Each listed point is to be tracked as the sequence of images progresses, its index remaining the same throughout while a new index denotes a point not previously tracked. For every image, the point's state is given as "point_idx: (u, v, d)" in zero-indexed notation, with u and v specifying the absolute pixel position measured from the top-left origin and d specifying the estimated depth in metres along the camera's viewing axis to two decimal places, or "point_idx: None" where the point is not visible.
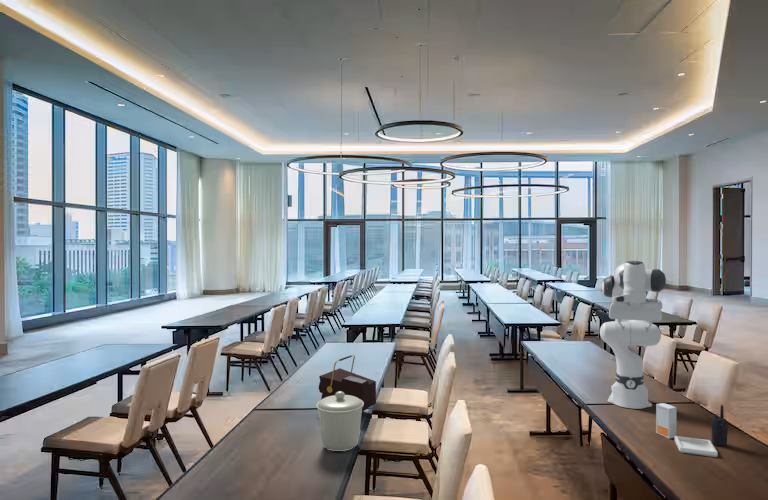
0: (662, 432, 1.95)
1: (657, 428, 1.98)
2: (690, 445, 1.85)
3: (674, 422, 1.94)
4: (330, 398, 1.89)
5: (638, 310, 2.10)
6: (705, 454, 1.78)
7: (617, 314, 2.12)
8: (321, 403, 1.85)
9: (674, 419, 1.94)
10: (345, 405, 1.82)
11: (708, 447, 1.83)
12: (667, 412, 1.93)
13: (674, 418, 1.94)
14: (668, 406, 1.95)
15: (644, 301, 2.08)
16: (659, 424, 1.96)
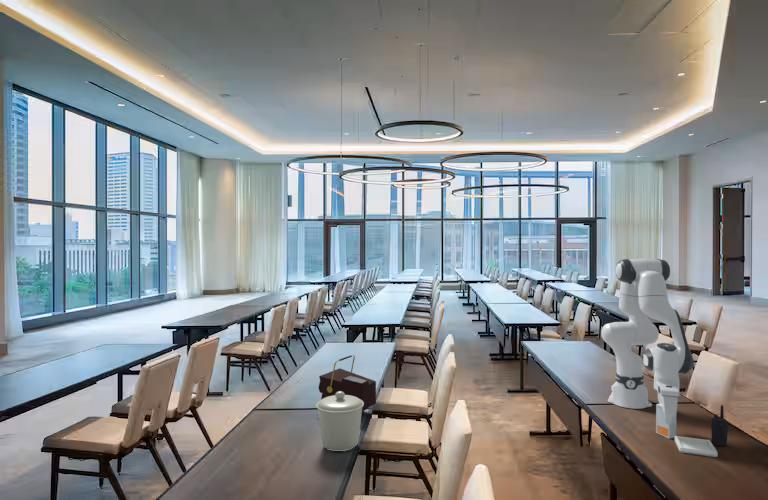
0: (662, 432, 1.95)
1: (657, 428, 1.98)
2: (690, 445, 1.85)
3: (674, 422, 1.94)
4: (330, 398, 1.89)
5: None
6: (705, 454, 1.78)
7: None
8: (321, 403, 1.85)
9: (674, 419, 1.94)
10: (345, 405, 1.82)
11: (708, 447, 1.83)
12: None
13: (674, 418, 1.94)
14: None
15: None
16: (659, 424, 1.96)
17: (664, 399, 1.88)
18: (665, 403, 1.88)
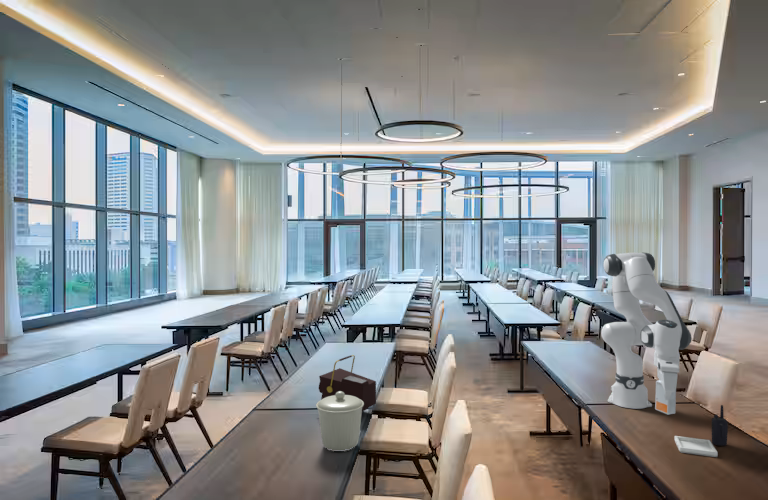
0: (662, 408, 1.96)
1: (656, 404, 1.98)
2: (690, 445, 1.85)
3: (673, 398, 1.94)
4: (330, 398, 1.89)
5: None
6: (705, 454, 1.78)
7: None
8: (321, 403, 1.85)
9: (673, 395, 1.94)
10: (345, 405, 1.82)
11: (708, 447, 1.83)
12: None
13: (673, 394, 1.94)
14: None
15: None
16: (659, 400, 1.97)
17: (664, 375, 1.88)
18: (665, 379, 1.88)
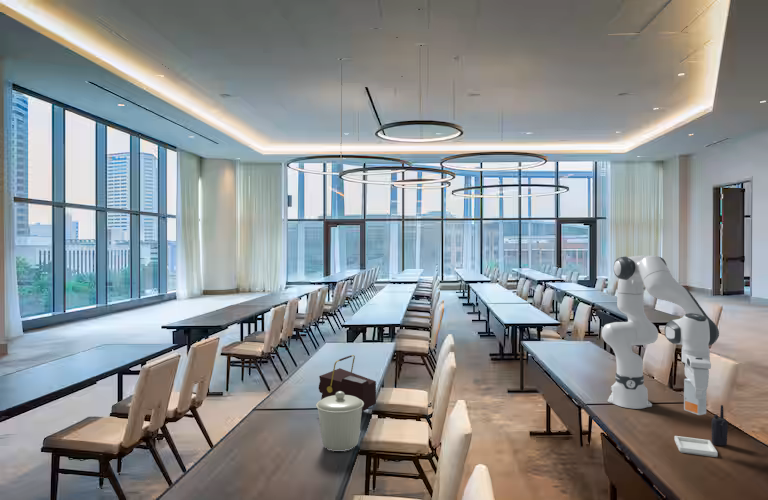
0: (691, 408, 1.83)
1: (685, 405, 1.85)
2: (690, 445, 1.85)
3: (704, 397, 1.81)
4: (330, 398, 1.89)
5: None
6: (705, 454, 1.78)
7: None
8: (321, 403, 1.85)
9: (704, 394, 1.81)
10: (345, 405, 1.82)
11: (708, 447, 1.83)
12: None
13: (703, 393, 1.81)
14: None
15: None
16: (688, 400, 1.84)
17: (694, 372, 1.75)
18: (695, 376, 1.75)
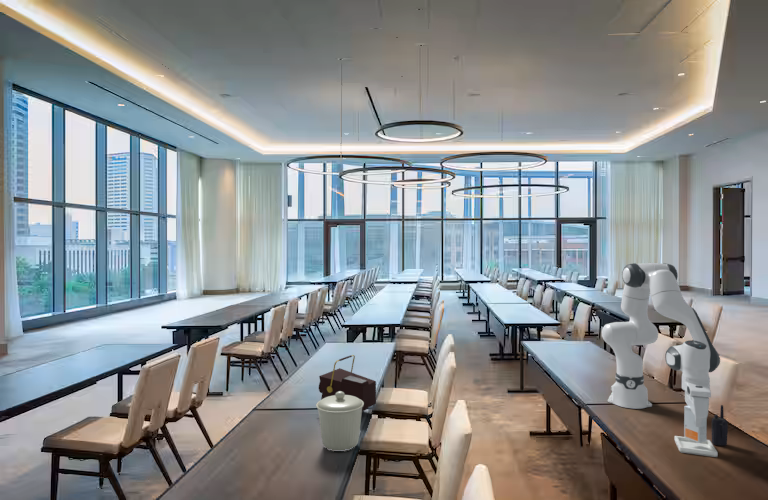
0: (692, 436, 1.83)
1: (685, 432, 1.85)
2: (690, 445, 1.85)
3: (704, 425, 1.81)
4: (330, 398, 1.89)
5: None
6: (705, 454, 1.78)
7: None
8: (321, 403, 1.85)
9: (704, 421, 1.81)
10: (345, 405, 1.82)
11: (708, 447, 1.83)
12: None
13: (704, 421, 1.81)
14: None
15: None
16: (688, 427, 1.84)
17: (694, 400, 1.76)
18: (695, 404, 1.75)
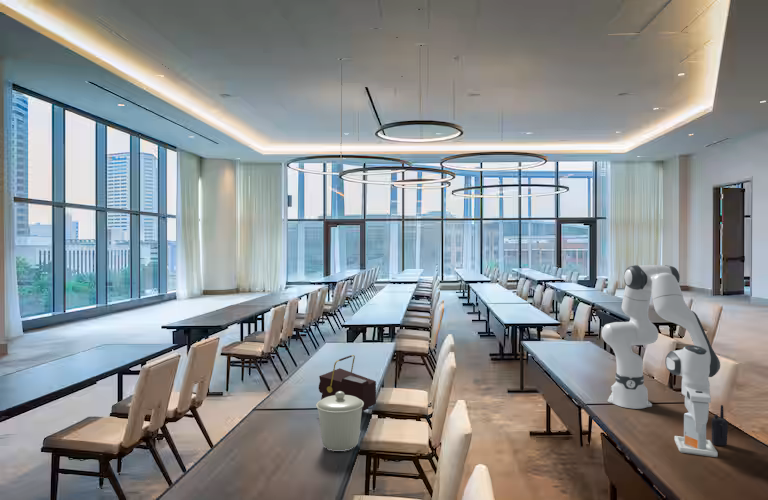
0: (691, 443, 1.83)
1: (685, 439, 1.85)
2: None
3: (704, 433, 1.81)
4: (330, 398, 1.89)
5: None
6: (705, 454, 1.78)
7: None
8: (321, 403, 1.85)
9: (704, 429, 1.81)
10: (345, 405, 1.82)
11: (708, 447, 1.83)
12: None
13: (703, 428, 1.81)
14: None
15: None
16: (688, 434, 1.84)
17: (694, 405, 1.76)
18: (695, 410, 1.75)
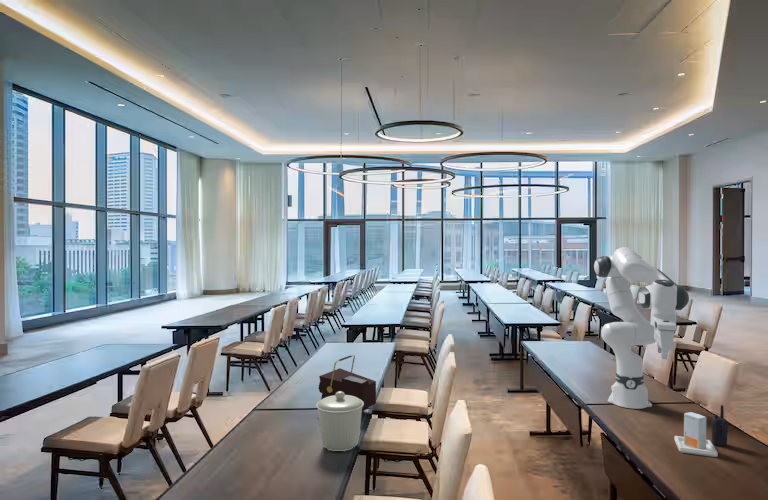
0: (691, 443, 1.83)
1: (685, 439, 1.85)
2: None
3: (704, 433, 1.81)
4: (330, 398, 1.89)
5: None
6: (705, 454, 1.78)
7: None
8: (321, 403, 1.85)
9: (704, 429, 1.81)
10: (345, 405, 1.82)
11: (708, 447, 1.83)
12: (697, 422, 1.81)
13: (703, 428, 1.81)
14: (697, 416, 1.83)
15: None
16: (688, 434, 1.84)
17: (661, 333, 1.87)
18: (662, 337, 1.87)
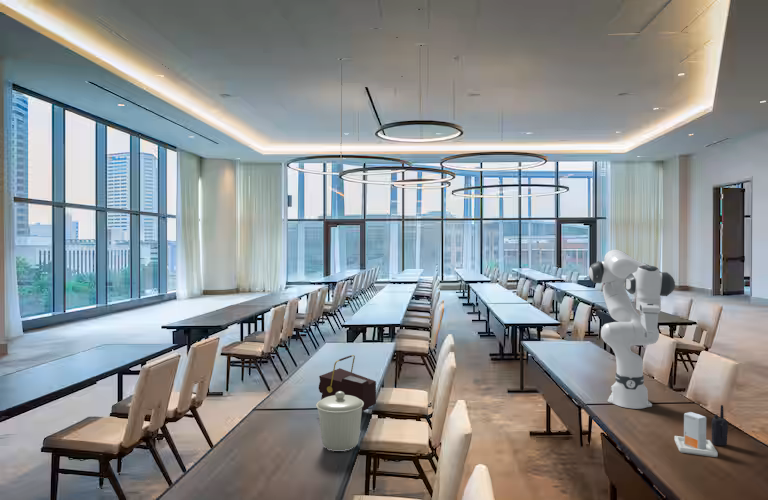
0: (691, 443, 1.83)
1: (685, 439, 1.85)
2: None
3: (704, 433, 1.81)
4: (330, 398, 1.89)
5: None
6: (705, 454, 1.78)
7: None
8: (321, 403, 1.85)
9: (704, 429, 1.81)
10: (345, 405, 1.82)
11: (708, 447, 1.83)
12: (697, 422, 1.81)
13: (703, 428, 1.81)
14: (697, 416, 1.83)
15: None
16: (688, 434, 1.84)
17: (645, 316, 1.93)
18: (646, 319, 1.93)
